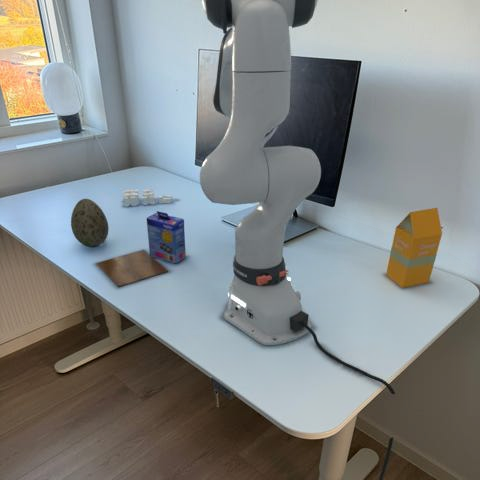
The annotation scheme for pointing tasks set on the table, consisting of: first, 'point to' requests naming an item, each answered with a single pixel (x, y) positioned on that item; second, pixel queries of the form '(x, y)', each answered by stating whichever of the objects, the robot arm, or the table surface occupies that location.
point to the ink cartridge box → (166, 237)
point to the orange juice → (415, 248)
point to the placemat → (131, 268)
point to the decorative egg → (89, 223)
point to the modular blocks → (148, 198)
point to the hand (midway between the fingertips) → (216, 188)
